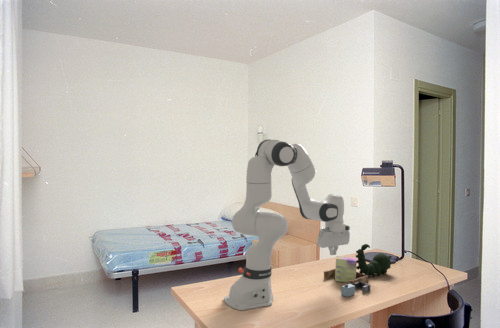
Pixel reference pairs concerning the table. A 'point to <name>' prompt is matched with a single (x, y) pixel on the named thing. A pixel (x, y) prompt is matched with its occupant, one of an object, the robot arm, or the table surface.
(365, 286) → the bracket
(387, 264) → the toy figurine
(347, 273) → the box
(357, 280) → the wooden square frame
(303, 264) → the table surface
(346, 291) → the blue block with knob
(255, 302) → the robot arm
